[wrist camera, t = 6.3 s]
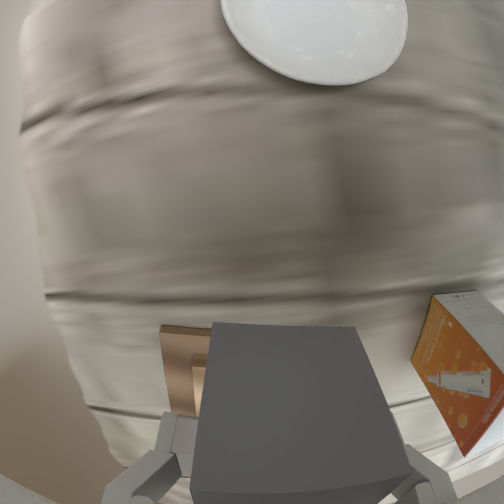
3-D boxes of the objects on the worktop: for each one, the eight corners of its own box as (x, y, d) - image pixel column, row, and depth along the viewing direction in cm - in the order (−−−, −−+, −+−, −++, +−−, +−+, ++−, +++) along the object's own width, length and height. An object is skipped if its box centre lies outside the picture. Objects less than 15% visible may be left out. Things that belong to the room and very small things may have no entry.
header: (162, 325, 24) (136, 392, 17) (341, 332, 25) (369, 398, 17) (181, 450, 31) (174, 502, 24) (301, 454, 32) (309, 505, 24)
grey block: (213, 322, 10) (189, 489, 5) (354, 327, 10) (412, 472, 5) (214, 422, 13) (205, 537, 7) (318, 423, 13) (337, 532, 7)
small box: (430, 293, 24) (516, 388, 11) (477, 289, 24) (559, 365, 12) (408, 362, 26) (463, 460, 14) (453, 354, 27) (511, 435, 14)
